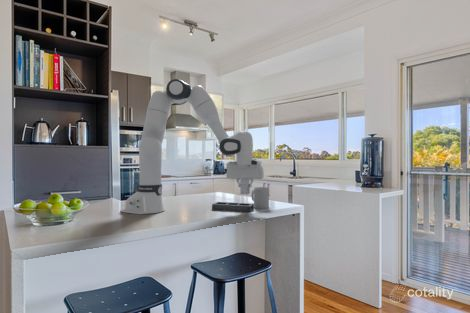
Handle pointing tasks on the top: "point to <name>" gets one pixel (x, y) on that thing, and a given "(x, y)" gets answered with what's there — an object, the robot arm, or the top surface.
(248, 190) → the steel block
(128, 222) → the top surface
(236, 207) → the black compartment tray
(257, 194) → the mug
